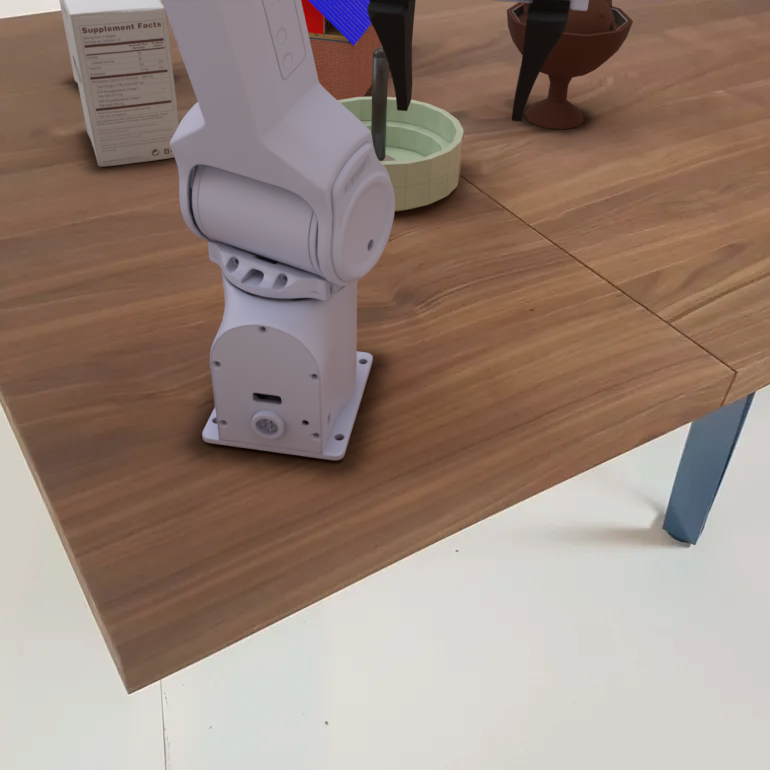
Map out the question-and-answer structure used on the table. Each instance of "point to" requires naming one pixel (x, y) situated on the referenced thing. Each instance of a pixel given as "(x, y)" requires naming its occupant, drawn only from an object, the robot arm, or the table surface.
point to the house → (341, 45)
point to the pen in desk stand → (379, 103)
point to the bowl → (417, 149)
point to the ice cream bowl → (572, 56)
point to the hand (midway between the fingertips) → (460, 110)
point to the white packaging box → (124, 78)
